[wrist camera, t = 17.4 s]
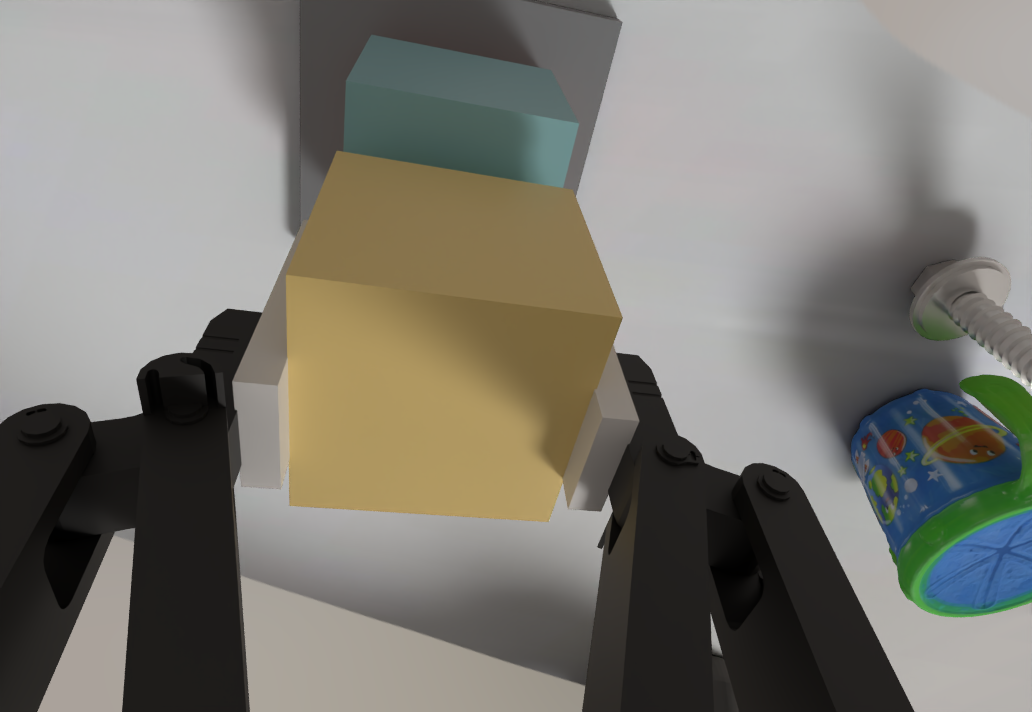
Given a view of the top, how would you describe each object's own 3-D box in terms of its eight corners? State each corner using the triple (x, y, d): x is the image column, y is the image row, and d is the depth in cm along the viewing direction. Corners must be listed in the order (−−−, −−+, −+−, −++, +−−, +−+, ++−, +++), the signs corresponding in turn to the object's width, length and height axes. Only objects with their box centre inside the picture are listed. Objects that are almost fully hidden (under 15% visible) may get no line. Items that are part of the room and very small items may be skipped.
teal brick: (516, 230, 25) (531, 313, 20) (361, 207, 24) (338, 288, 19) (550, 69, 21) (579, 123, 17) (371, 34, 20) (345, 80, 15)
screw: (1002, 251, 33) (942, 325, 36) (928, 231, 32) (872, 310, 35) (1255, 419, 23) (1143, 506, 25) (1158, 398, 22) (1052, 491, 24)
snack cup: (933, 503, 46) (1036, 637, 38) (793, 512, 45) (867, 651, 37) (1041, 325, 36) (1210, 452, 28) (865, 334, 36) (987, 466, 28)
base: (549, 279, 32) (562, 334, 28) (303, 246, 30) (281, 299, 26) (618, 18, 25) (647, 43, 21) (304, -50, 23) (274, -38, 19)
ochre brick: (525, 367, 20) (548, 521, 15) (330, 346, 19) (289, 505, 14) (572, 189, 16) (622, 317, 12) (336, 150, 15) (285, 274, 11)
